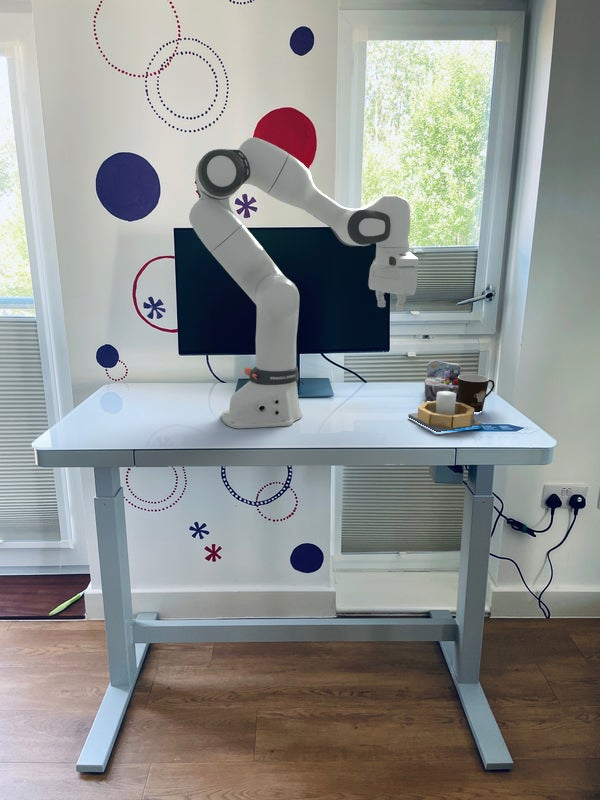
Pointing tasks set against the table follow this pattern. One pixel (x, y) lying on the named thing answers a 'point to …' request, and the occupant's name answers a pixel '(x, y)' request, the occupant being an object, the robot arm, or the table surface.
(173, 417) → the table surface
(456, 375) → the cell model
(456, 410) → the wooden ring
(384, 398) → the table surface
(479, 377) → the coffee mug
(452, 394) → the piston stand
